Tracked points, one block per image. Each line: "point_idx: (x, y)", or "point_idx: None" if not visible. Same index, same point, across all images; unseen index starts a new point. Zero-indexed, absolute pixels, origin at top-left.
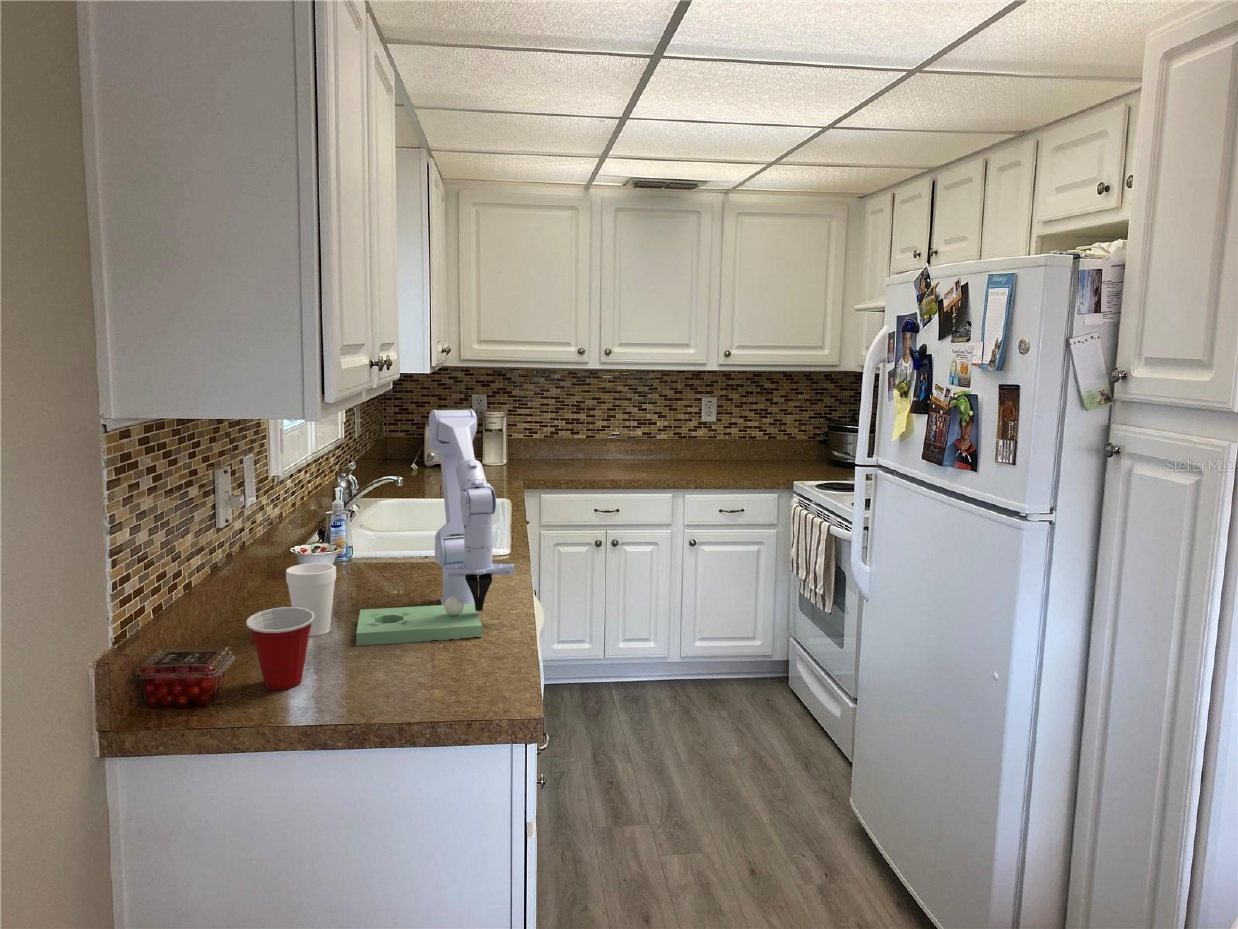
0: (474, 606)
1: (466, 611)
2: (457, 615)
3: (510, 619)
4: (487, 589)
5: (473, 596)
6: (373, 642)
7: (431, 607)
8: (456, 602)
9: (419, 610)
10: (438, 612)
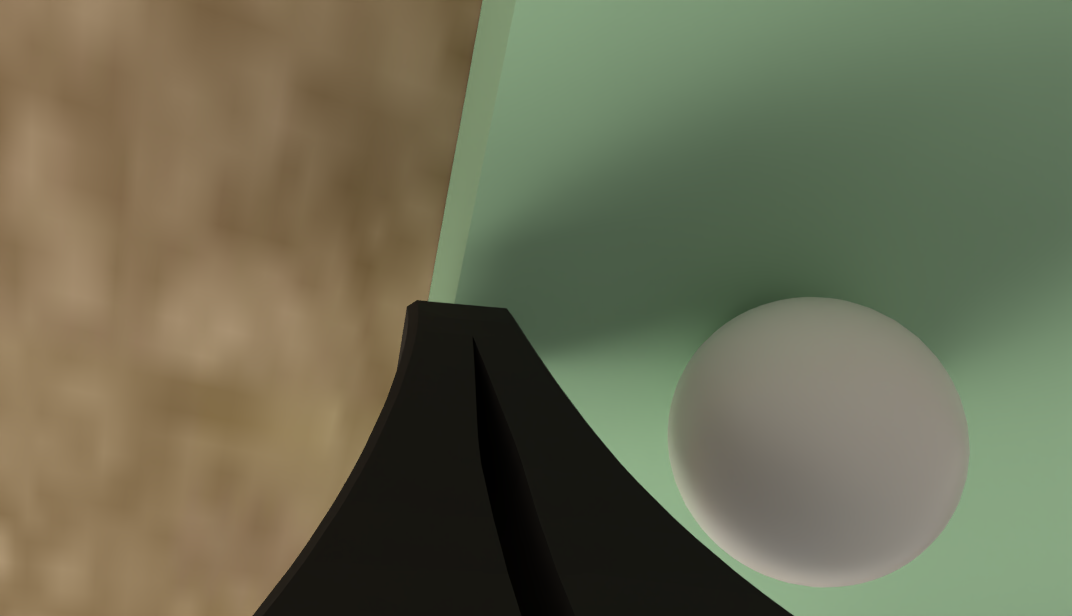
0: None
1: None
2: None
3: (2, 339)
4: (315, 557)
5: (620, 463)
6: None
7: (830, 602)
8: (871, 412)
9: (968, 553)
10: None
